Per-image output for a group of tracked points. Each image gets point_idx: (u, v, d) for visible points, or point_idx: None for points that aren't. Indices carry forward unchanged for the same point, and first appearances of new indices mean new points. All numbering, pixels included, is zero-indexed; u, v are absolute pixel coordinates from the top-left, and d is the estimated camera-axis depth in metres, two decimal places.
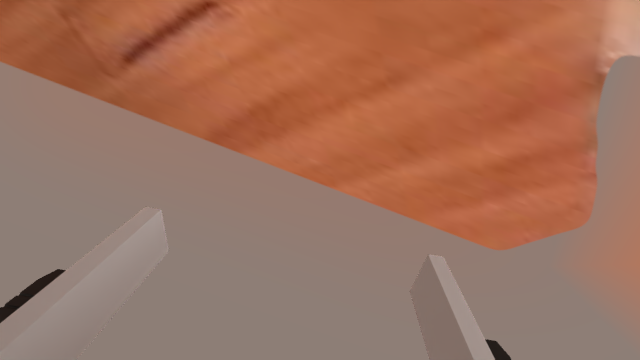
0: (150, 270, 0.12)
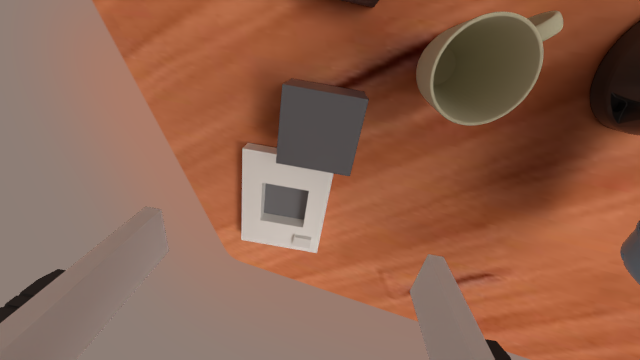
0: (150, 270, 0.12)
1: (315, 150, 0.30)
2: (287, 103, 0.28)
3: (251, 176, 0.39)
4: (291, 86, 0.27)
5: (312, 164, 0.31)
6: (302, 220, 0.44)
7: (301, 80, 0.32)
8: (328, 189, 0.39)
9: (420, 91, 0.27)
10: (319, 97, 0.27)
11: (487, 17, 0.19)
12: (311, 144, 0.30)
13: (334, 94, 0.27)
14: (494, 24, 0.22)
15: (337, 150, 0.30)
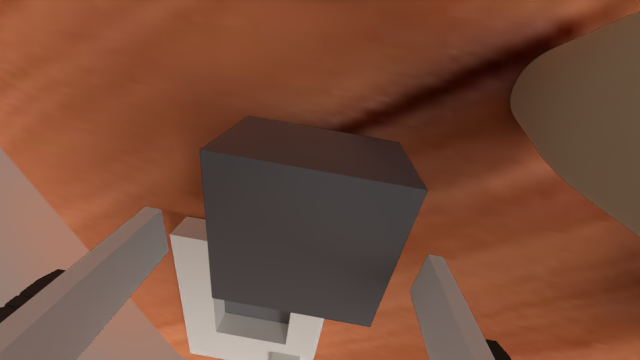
0: (150, 270, 0.12)
1: (293, 283, 0.13)
2: (219, 193, 0.11)
3: (192, 275, 0.22)
4: (223, 155, 0.10)
5: (289, 304, 0.14)
6: (286, 326, 0.28)
7: (268, 120, 0.15)
8: None
9: (560, 164, 0.10)
10: (298, 182, 0.10)
11: None
12: (284, 271, 0.13)
13: (336, 176, 0.10)
14: None
15: (344, 285, 0.13)
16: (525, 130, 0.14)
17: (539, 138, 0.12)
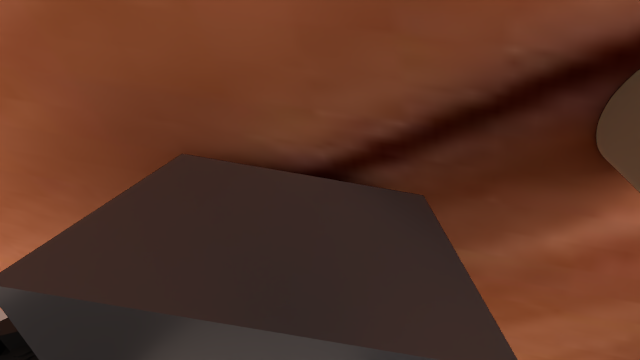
0: None
1: None
2: (65, 352, 0.05)
3: None
4: (45, 294, 0.04)
5: None
6: None
7: (210, 162, 0.09)
8: None
9: None
10: (226, 345, 0.05)
11: None
12: None
13: (313, 341, 0.04)
14: None
15: None
16: None
17: None
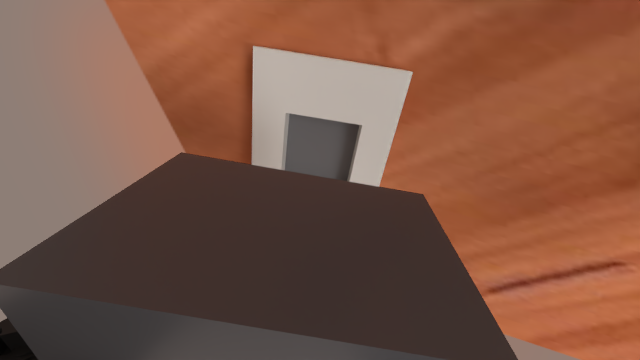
0: None
1: None
2: (64, 351, 0.05)
3: (267, 101, 0.23)
4: (43, 292, 0.04)
5: None
6: None
7: (210, 161, 0.09)
8: (395, 121, 0.23)
9: None
10: (225, 344, 0.05)
11: None
12: None
13: (312, 339, 0.04)
14: None
15: None
16: None
17: None
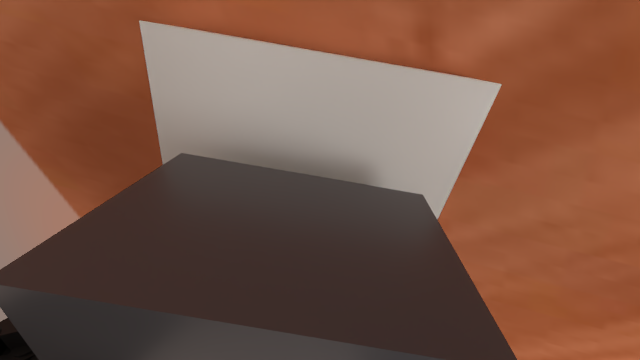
0: None
1: None
2: (64, 351, 0.05)
3: (189, 139, 0.11)
4: (43, 292, 0.04)
5: None
6: None
7: (210, 161, 0.09)
8: (449, 181, 0.11)
9: None
10: (225, 344, 0.05)
11: None
12: None
13: (311, 340, 0.04)
14: None
15: None
16: None
17: None
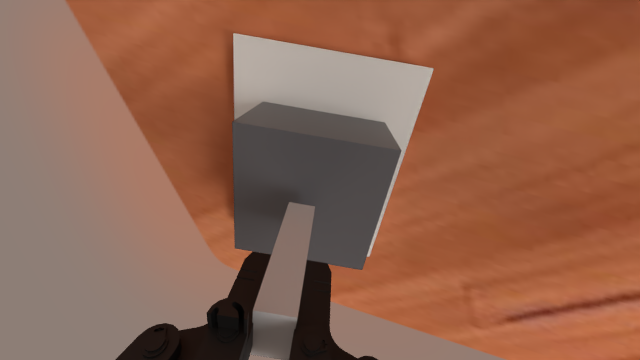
0: None
1: None
2: (245, 156, 0.15)
3: (253, 103, 0.19)
4: (250, 125, 0.14)
5: None
6: None
7: (278, 105, 0.19)
8: (409, 128, 0.19)
9: None
10: (305, 146, 0.14)
11: None
12: None
13: (334, 140, 0.14)
14: None
15: (341, 232, 0.17)
16: None
17: None
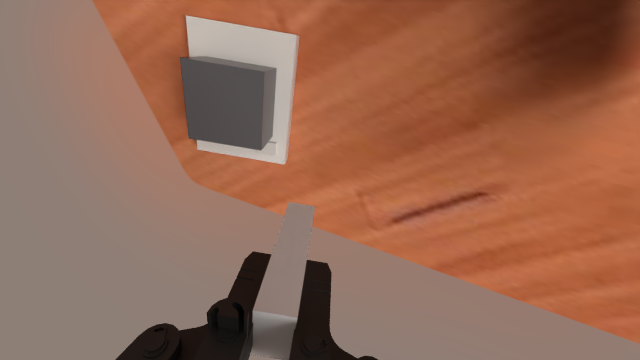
0: None
1: (223, 125, 0.31)
2: (188, 77, 0.28)
3: None
4: (189, 59, 0.27)
5: (223, 139, 0.31)
6: None
7: None
8: (291, 72, 0.33)
9: None
10: (217, 70, 0.28)
11: None
12: (218, 118, 0.30)
13: (231, 67, 0.27)
14: None
15: (245, 124, 0.30)
16: None
17: None
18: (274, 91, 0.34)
